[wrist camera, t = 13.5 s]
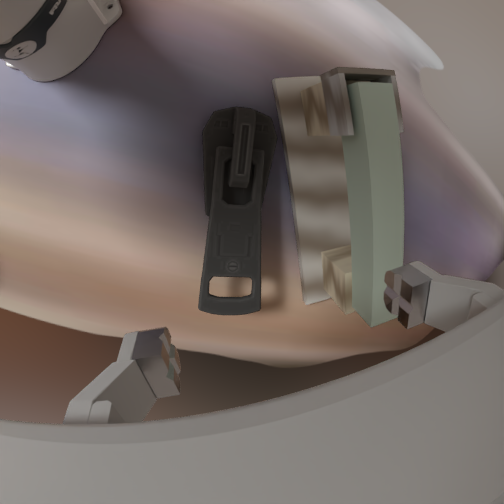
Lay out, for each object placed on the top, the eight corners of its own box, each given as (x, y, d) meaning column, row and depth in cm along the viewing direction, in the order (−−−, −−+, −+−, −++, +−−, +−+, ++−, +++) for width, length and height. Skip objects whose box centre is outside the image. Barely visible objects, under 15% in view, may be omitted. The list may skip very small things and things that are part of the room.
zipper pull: (193, 316, 35) (207, 98, 27) (193, 290, 41) (205, 106, 33) (264, 316, 37) (291, 108, 29) (255, 292, 43) (275, 114, 35)
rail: (334, 89, 26) (357, 81, 22) (365, 89, 27) (392, 83, 22) (352, 306, 36) (370, 327, 31) (377, 298, 36) (398, 317, 32)
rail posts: (271, 80, 33) (307, 53, 21) (353, 77, 34) (410, 60, 22) (302, 300, 45) (336, 351, 33) (369, 280, 46) (415, 321, 34)
